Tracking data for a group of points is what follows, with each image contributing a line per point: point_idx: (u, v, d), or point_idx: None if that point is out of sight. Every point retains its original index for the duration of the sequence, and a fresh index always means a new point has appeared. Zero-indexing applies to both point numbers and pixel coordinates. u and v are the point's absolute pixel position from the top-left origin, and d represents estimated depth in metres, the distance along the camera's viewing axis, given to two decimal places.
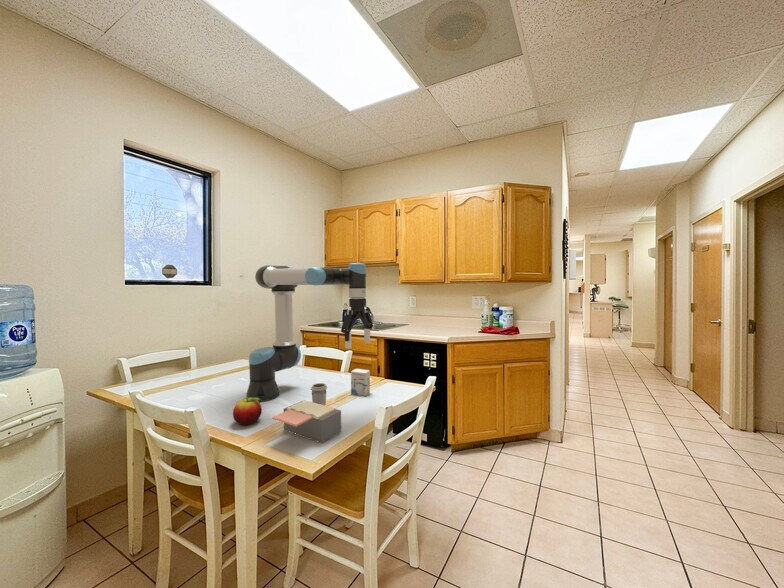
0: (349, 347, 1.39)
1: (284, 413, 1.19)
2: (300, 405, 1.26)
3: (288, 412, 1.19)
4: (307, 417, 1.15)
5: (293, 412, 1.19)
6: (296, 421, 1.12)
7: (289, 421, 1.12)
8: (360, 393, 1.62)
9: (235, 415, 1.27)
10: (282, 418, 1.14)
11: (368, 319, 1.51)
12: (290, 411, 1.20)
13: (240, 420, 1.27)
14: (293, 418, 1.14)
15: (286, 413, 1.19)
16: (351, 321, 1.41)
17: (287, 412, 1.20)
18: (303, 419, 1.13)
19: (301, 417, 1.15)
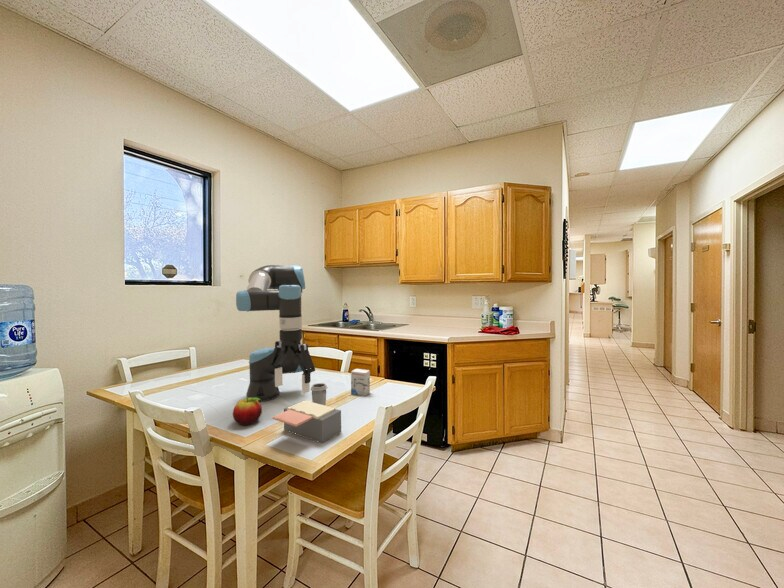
0: None
1: (284, 413, 1.19)
2: (300, 405, 1.26)
3: (288, 412, 1.19)
4: (307, 417, 1.15)
5: (293, 412, 1.19)
6: (296, 421, 1.12)
7: (289, 421, 1.12)
8: (360, 393, 1.62)
9: (235, 415, 1.27)
10: (282, 418, 1.14)
11: None
12: (290, 411, 1.20)
13: (240, 420, 1.27)
14: (293, 418, 1.14)
15: (286, 413, 1.19)
16: None
17: (287, 412, 1.20)
18: (303, 419, 1.13)
19: (301, 417, 1.15)
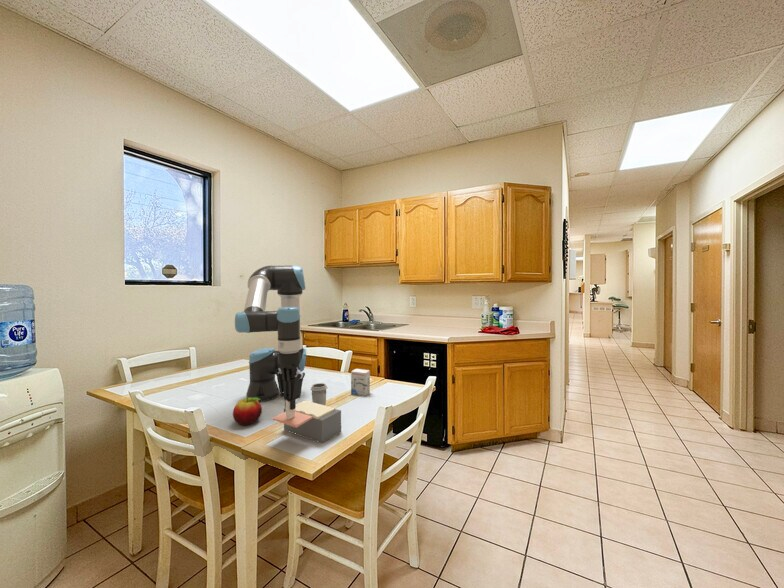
0: None
1: (284, 413, 1.19)
2: (300, 405, 1.26)
3: None
4: (307, 417, 1.15)
5: None
6: (296, 422, 1.12)
7: (289, 422, 1.12)
8: (360, 393, 1.62)
9: (235, 415, 1.27)
10: (282, 419, 1.14)
11: None
12: None
13: (240, 420, 1.27)
14: (293, 419, 1.14)
15: None
16: None
17: None
18: (303, 420, 1.13)
19: (301, 417, 1.15)
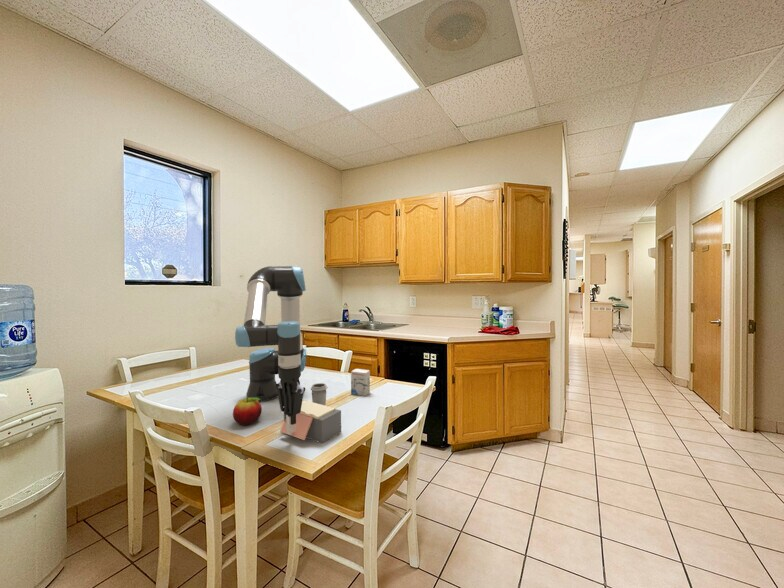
0: None
1: None
2: None
3: None
4: (308, 421, 1.15)
5: None
6: (301, 433, 1.14)
7: (296, 435, 1.15)
8: (360, 393, 1.62)
9: (235, 415, 1.27)
10: None
11: None
12: None
13: (240, 420, 1.27)
14: (297, 428, 1.16)
15: None
16: None
17: None
18: (306, 426, 1.15)
19: (303, 423, 1.16)
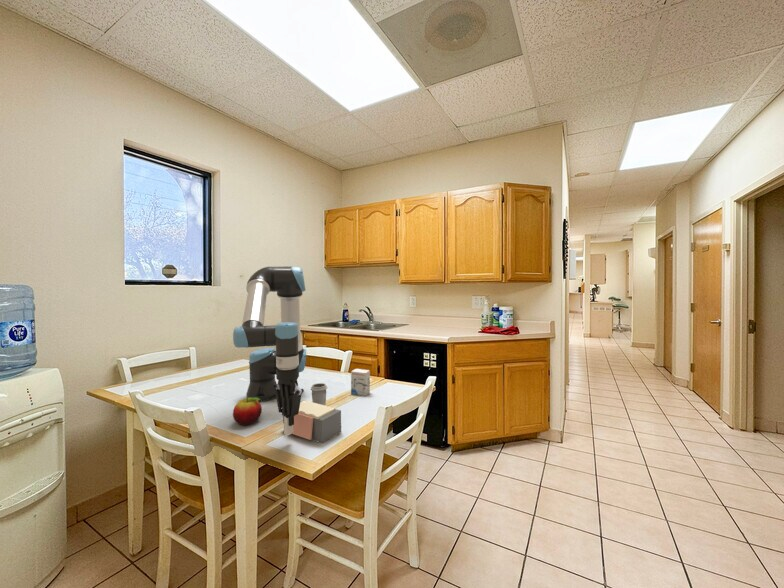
0: None
1: None
2: (300, 405, 1.26)
3: None
4: (309, 421, 1.16)
5: None
6: (306, 433, 1.16)
7: (302, 435, 1.17)
8: (360, 393, 1.62)
9: (235, 415, 1.27)
10: (294, 431, 1.19)
11: None
12: None
13: (240, 420, 1.27)
14: (301, 428, 1.18)
15: None
16: None
17: None
18: (309, 427, 1.16)
19: (305, 424, 1.17)
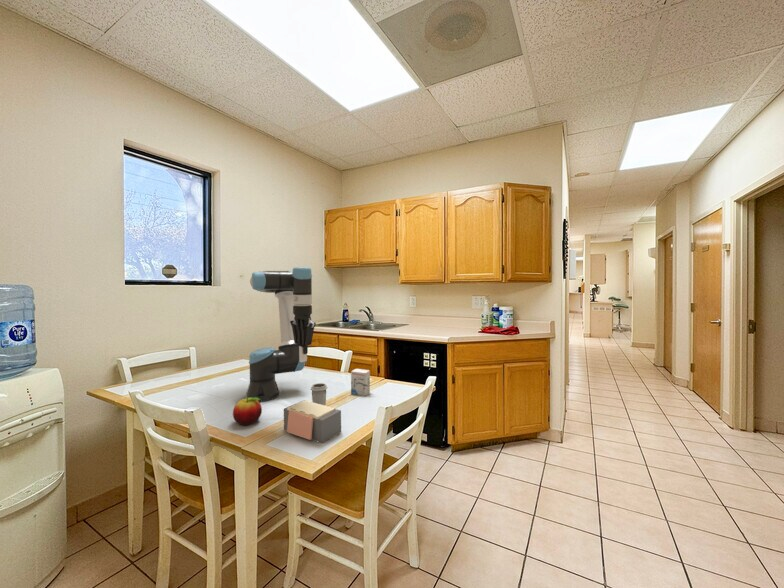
0: None
1: (290, 420, 1.21)
2: (300, 405, 1.26)
3: (292, 418, 1.21)
4: (309, 421, 1.16)
5: (295, 415, 1.20)
6: (306, 433, 1.16)
7: (302, 435, 1.17)
8: (360, 393, 1.62)
9: (235, 415, 1.27)
10: (294, 431, 1.19)
11: None
12: (292, 415, 1.21)
13: (240, 420, 1.27)
14: (301, 428, 1.18)
15: (291, 420, 1.21)
16: None
17: (290, 416, 1.21)
18: (309, 427, 1.16)
19: (305, 423, 1.17)
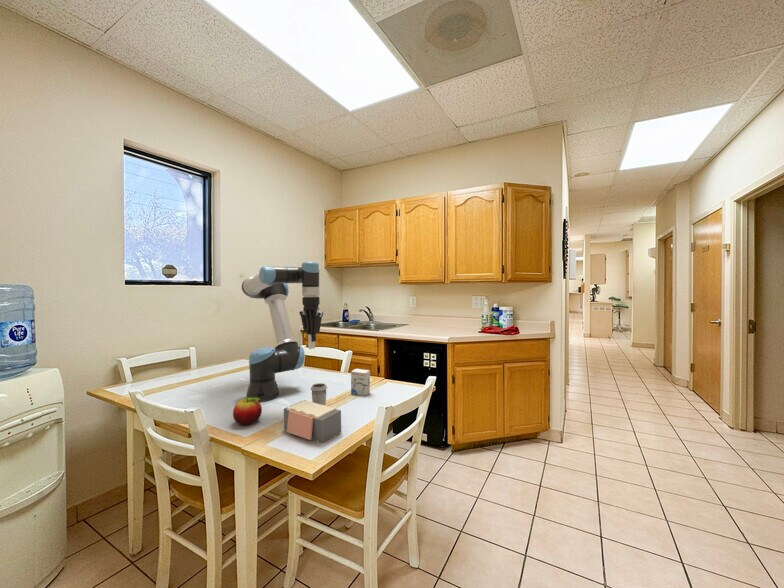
0: None
1: (290, 420, 1.21)
2: (300, 405, 1.26)
3: (292, 418, 1.21)
4: (309, 421, 1.16)
5: (295, 415, 1.20)
6: (306, 433, 1.16)
7: (302, 435, 1.17)
8: (360, 393, 1.62)
9: (235, 415, 1.27)
10: (294, 431, 1.19)
11: None
12: (292, 415, 1.21)
13: (240, 420, 1.27)
14: (301, 428, 1.18)
15: (291, 420, 1.21)
16: None
17: (290, 416, 1.21)
18: (309, 427, 1.16)
19: (305, 423, 1.17)
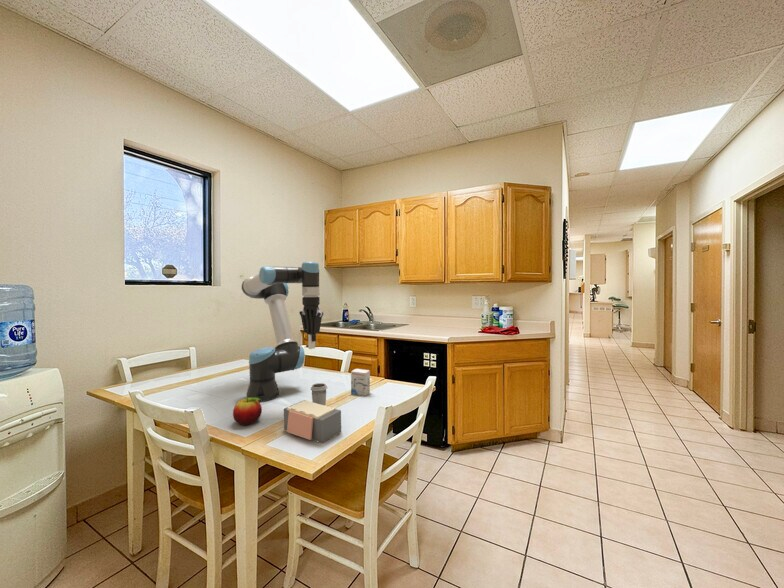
0: None
1: (290, 420, 1.21)
2: (300, 405, 1.26)
3: (292, 418, 1.21)
4: (309, 421, 1.16)
5: (295, 415, 1.20)
6: (306, 433, 1.16)
7: (302, 435, 1.17)
8: (360, 393, 1.62)
9: (235, 415, 1.27)
10: (294, 431, 1.19)
11: None
12: (292, 415, 1.21)
13: (240, 420, 1.27)
14: (301, 428, 1.18)
15: (291, 420, 1.21)
16: None
17: (290, 416, 1.21)
18: (309, 427, 1.16)
19: (305, 423, 1.17)
